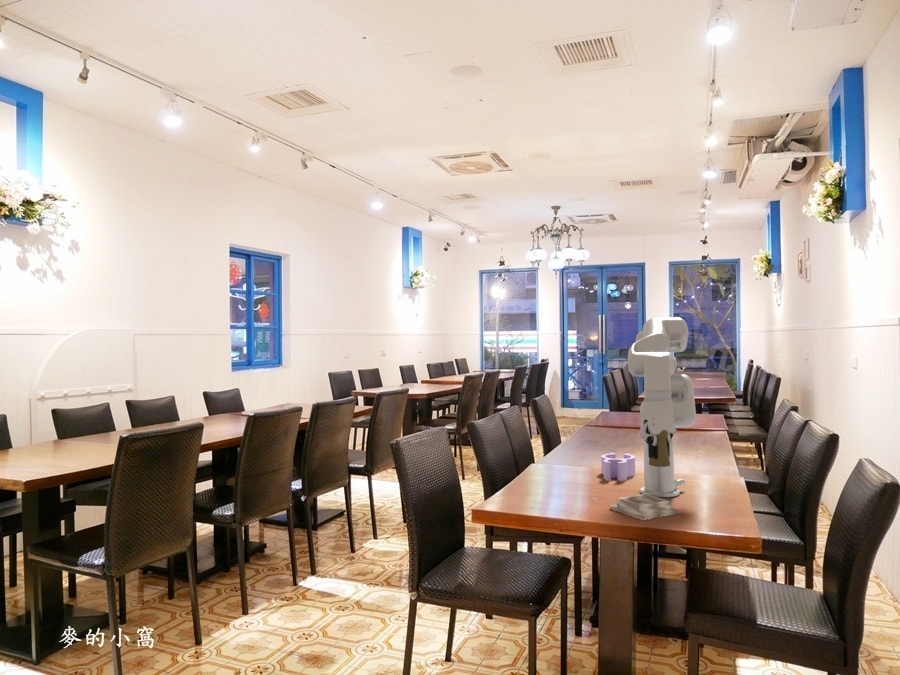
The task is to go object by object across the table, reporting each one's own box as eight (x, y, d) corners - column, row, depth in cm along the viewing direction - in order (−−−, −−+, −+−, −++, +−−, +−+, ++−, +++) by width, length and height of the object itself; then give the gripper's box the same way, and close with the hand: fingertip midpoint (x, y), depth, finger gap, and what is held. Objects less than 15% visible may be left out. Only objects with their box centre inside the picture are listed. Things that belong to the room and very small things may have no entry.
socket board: (644, 503, 201) (644, 492, 201) (678, 513, 189) (678, 501, 189) (609, 509, 195) (609, 497, 195) (642, 520, 183) (642, 508, 183)
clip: (631, 482, 230) (631, 463, 230) (596, 480, 235) (596, 461, 235) (637, 471, 249) (636, 453, 249) (604, 469, 253) (604, 452, 253)
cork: (648, 466, 187) (647, 429, 187) (649, 462, 193) (648, 425, 193) (670, 467, 186) (669, 429, 185) (670, 462, 191) (669, 426, 191)
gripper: (667, 392, 196) (669, 451, 197) (627, 397, 188) (629, 458, 189) (687, 394, 190) (689, 455, 190) (646, 399, 182) (648, 463, 182)
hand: (659, 456), depth 189 cm, fingers closed on cork, 4 cm apart
